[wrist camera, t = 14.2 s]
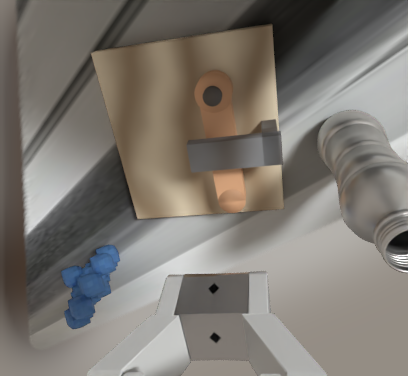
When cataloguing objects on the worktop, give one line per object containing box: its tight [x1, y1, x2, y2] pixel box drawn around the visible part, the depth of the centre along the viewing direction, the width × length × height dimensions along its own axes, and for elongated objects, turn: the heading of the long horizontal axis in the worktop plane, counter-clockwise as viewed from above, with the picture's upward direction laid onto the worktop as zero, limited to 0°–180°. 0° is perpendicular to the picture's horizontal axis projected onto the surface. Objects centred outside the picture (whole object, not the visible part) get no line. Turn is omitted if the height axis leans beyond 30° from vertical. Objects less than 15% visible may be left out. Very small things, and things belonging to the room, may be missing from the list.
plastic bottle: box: [317, 110, 408, 273], centre depth 31 cm, size 6×7×20 cm
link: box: [194, 70, 246, 213], centre depth 39 cm, size 15×4×2 cm, turn 11°
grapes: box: [61, 245, 120, 329], centre depth 47 cm, size 12×7×12 cm, turn 154°
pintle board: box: [91, 24, 284, 219], centre depth 39 cm, size 18×20×6 cm
